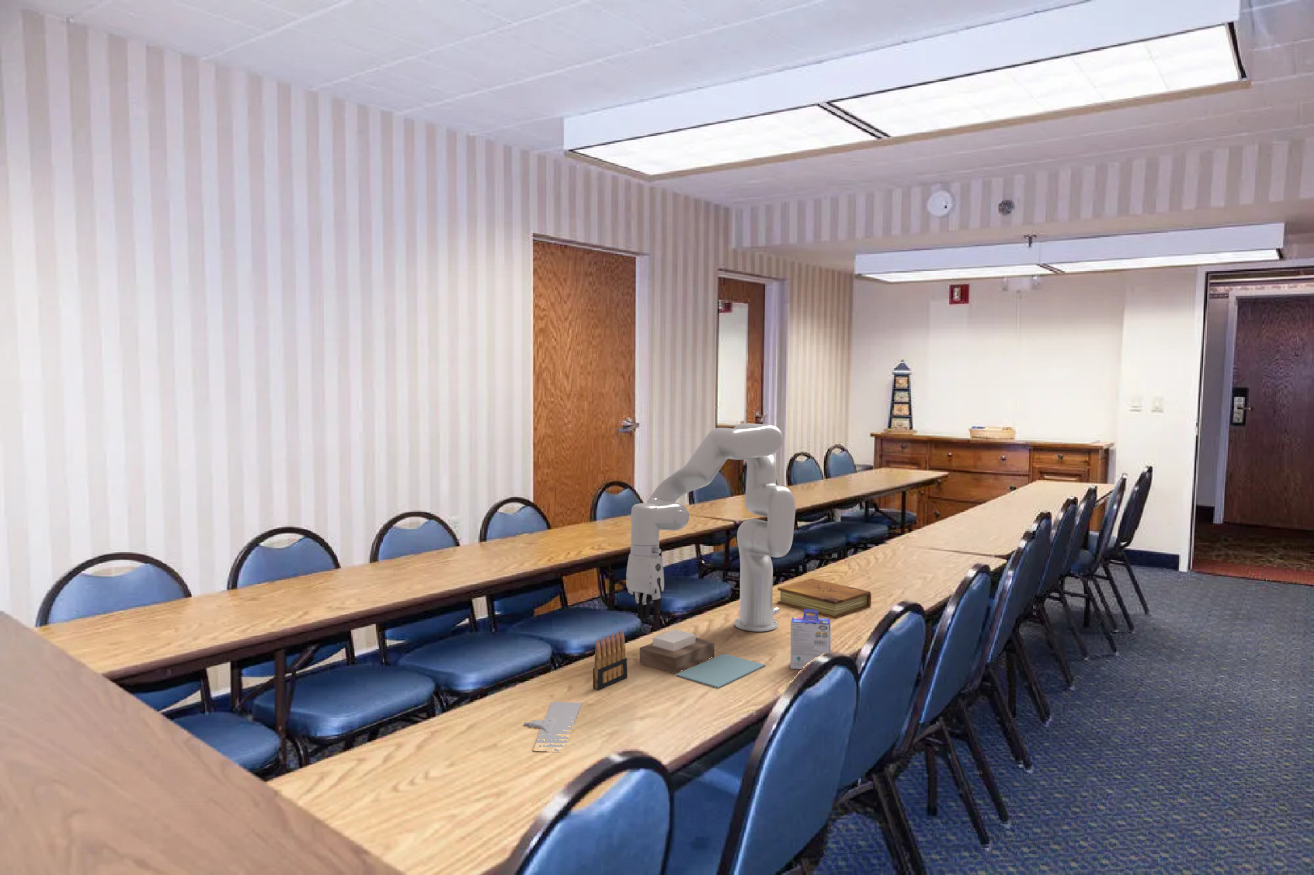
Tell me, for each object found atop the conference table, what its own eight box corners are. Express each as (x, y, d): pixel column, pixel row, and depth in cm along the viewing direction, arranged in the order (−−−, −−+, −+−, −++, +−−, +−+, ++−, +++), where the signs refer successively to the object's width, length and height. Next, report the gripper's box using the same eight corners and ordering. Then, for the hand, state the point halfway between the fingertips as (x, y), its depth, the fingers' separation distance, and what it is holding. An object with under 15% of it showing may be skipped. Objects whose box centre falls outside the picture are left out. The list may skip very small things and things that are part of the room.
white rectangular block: (674, 637, 224) (674, 629, 224) (695, 642, 219) (695, 634, 219) (652, 645, 217) (652, 637, 217) (673, 651, 213) (673, 642, 213)
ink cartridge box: (830, 664, 214) (830, 609, 213) (830, 672, 209) (830, 615, 208) (791, 662, 216) (791, 607, 215) (790, 669, 211) (790, 613, 210)
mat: (723, 655, 222) (723, 653, 222) (765, 666, 213) (765, 664, 213) (676, 675, 207) (676, 674, 207) (718, 688, 198) (718, 687, 198)
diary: (871, 608, 267) (871, 591, 267) (835, 620, 255) (835, 601, 255) (813, 594, 285) (813, 577, 284) (777, 604, 272) (777, 586, 272)
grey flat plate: (534, 703, 190) (534, 698, 190) (637, 707, 190) (637, 702, 190) (512, 753, 165) (512, 747, 165) (630, 758, 165) (630, 752, 165)
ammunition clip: (621, 676, 207) (621, 628, 206) (627, 677, 206) (627, 629, 205) (592, 689, 198) (592, 639, 197) (598, 690, 197) (598, 640, 196)
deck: (678, 647, 228) (678, 633, 228) (714, 657, 220) (714, 642, 220) (639, 662, 216) (639, 647, 216) (675, 673, 208) (675, 658, 208)
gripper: (675, 552, 221) (674, 620, 222) (633, 544, 231) (632, 609, 232) (656, 556, 215) (655, 626, 216) (614, 548, 225) (613, 615, 226)
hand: (643, 617), depth 224 cm, fingers closed
